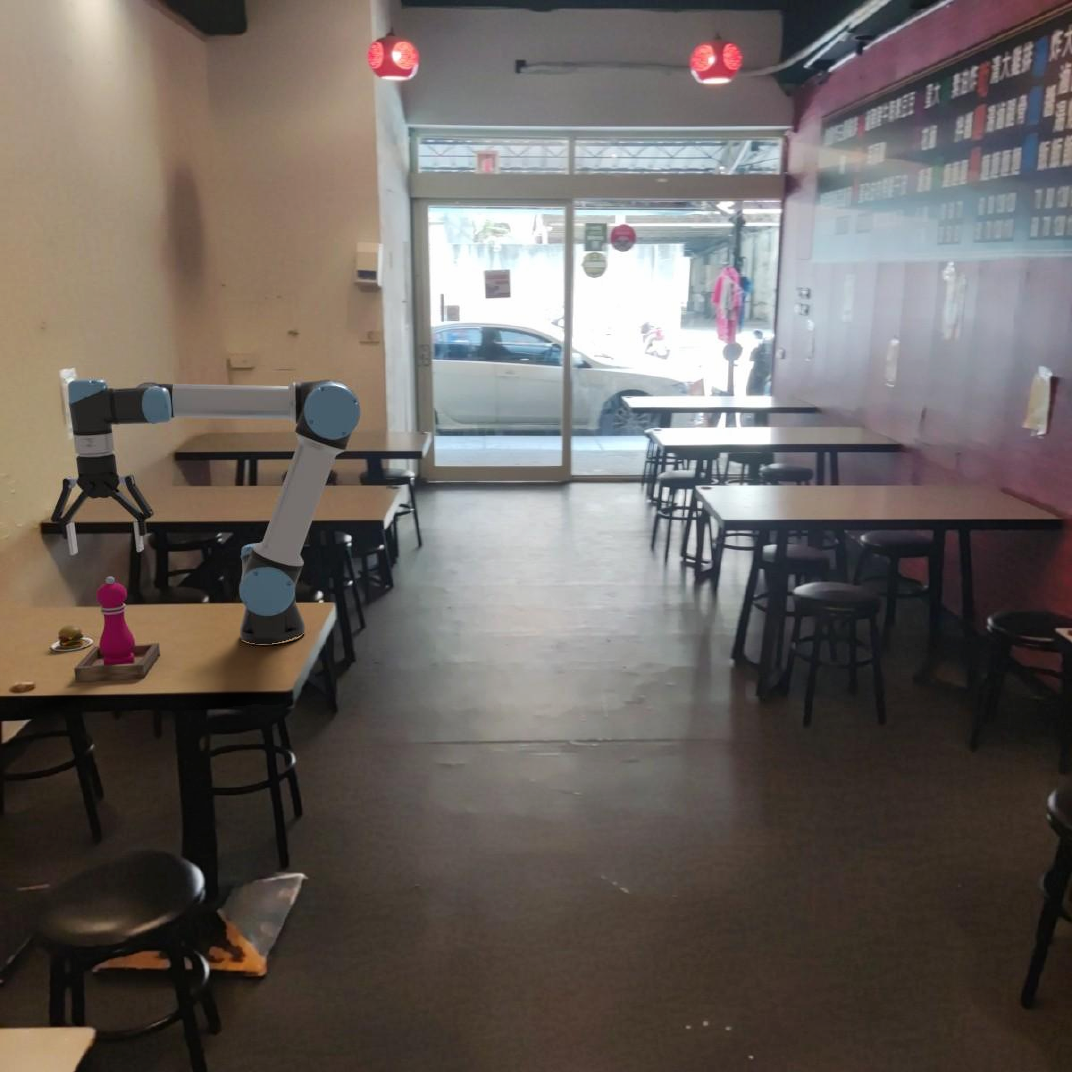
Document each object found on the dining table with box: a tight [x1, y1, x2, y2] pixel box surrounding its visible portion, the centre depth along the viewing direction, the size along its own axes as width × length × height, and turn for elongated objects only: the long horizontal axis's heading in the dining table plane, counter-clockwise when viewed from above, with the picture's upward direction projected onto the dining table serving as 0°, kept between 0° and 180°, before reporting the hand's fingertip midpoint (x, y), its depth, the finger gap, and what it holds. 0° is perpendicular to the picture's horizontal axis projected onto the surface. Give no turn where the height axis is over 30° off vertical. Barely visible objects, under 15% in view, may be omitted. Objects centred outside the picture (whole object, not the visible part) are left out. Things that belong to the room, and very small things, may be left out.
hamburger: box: [50, 625, 94, 652], centre depth 226 cm, size 12×12×6 cm
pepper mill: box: [96, 576, 136, 665], centre depth 209 cm, size 7×7×20 cm
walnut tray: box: [73, 642, 161, 683], centre depth 211 cm, size 14×14×3 cm
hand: (107, 552), depth 205 cm, fingers open, 13 cm apart
